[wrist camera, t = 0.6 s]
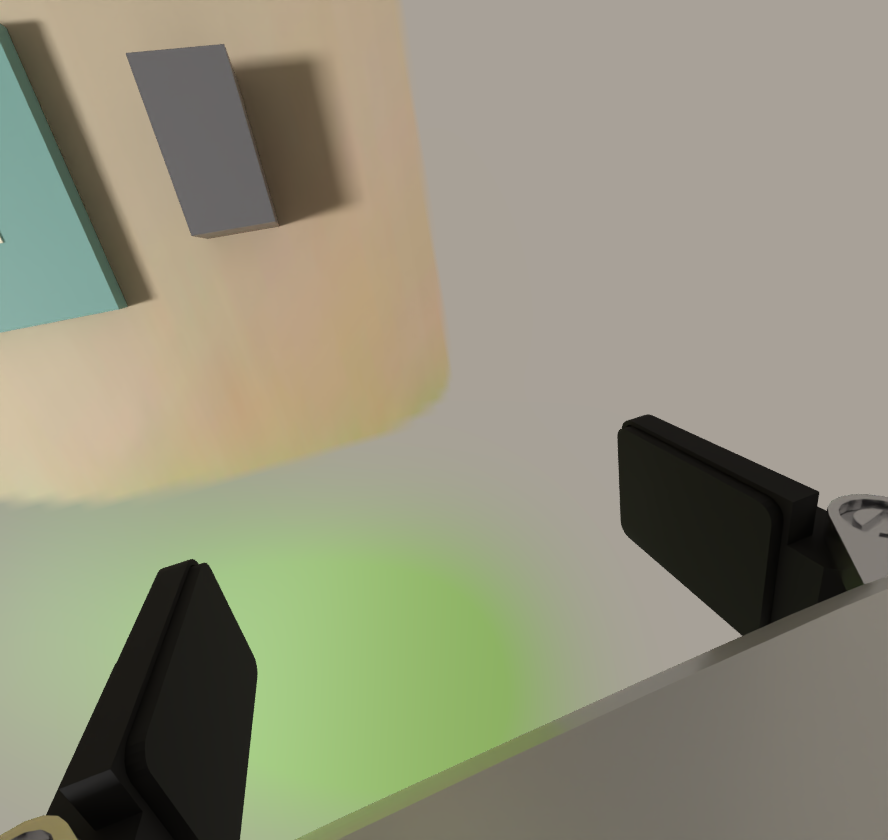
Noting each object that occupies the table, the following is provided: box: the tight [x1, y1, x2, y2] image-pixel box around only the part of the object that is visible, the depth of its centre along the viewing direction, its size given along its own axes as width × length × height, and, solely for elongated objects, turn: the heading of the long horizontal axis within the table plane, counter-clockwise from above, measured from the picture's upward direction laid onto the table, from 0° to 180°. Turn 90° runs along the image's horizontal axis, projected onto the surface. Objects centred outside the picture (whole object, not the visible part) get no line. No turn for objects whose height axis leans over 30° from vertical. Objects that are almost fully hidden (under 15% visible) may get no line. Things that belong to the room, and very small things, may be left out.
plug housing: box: [126, 44, 279, 239], centre depth 25 cm, size 4×8×4 cm, turn 10°
